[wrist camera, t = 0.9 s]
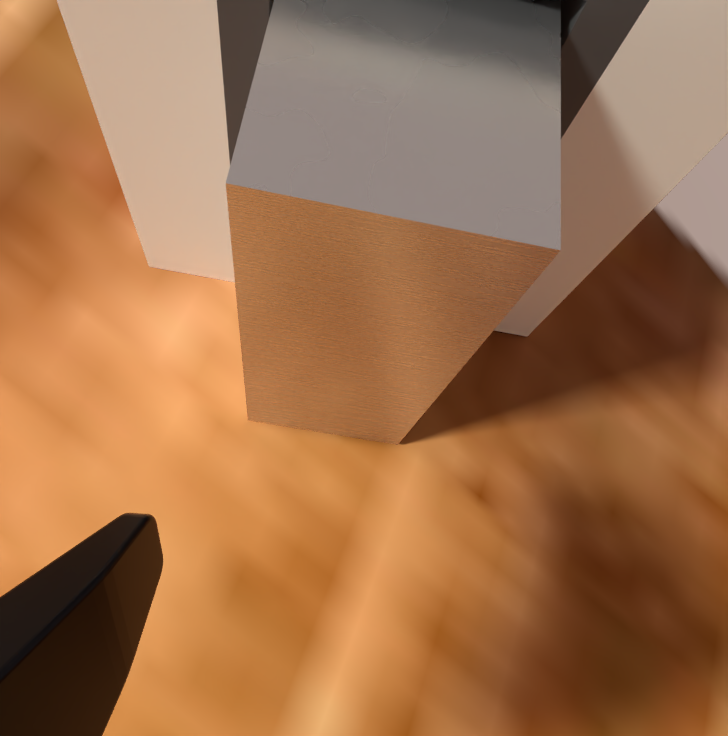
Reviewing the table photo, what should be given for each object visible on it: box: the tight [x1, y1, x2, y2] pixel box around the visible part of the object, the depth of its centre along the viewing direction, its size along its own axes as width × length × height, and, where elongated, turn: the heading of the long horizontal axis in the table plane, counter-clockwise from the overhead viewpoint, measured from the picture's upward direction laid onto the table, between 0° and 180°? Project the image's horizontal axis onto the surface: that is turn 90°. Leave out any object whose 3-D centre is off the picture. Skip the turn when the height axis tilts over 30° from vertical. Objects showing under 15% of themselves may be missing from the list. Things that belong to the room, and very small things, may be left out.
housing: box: [57, 0, 728, 337], centre depth 16 cm, size 6×14×15 cm, turn 83°
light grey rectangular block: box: [226, 0, 561, 445], centre depth 16 cm, size 10×5×12 cm, turn 173°
